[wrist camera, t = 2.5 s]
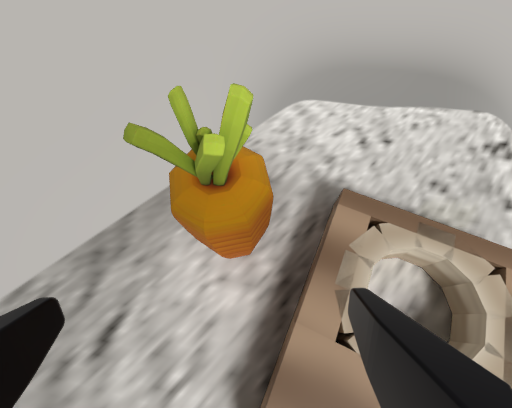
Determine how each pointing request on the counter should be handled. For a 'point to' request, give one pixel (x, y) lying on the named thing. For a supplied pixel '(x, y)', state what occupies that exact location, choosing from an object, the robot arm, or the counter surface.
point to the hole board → (357, 276)
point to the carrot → (214, 175)
